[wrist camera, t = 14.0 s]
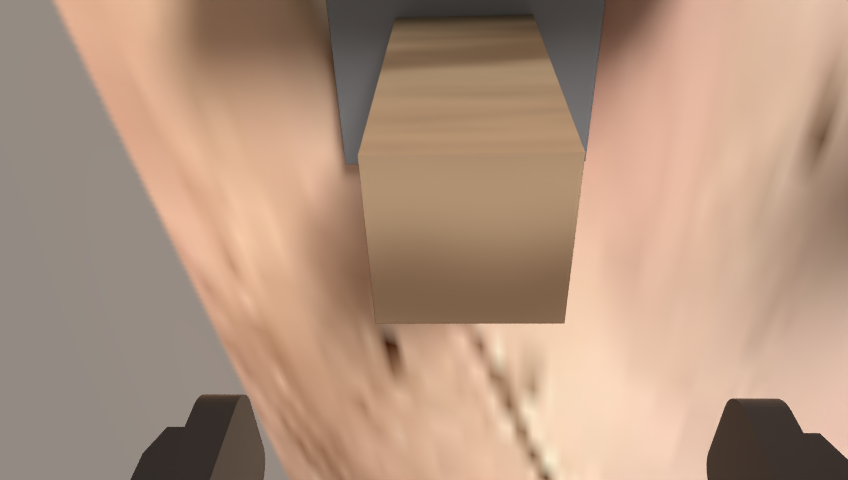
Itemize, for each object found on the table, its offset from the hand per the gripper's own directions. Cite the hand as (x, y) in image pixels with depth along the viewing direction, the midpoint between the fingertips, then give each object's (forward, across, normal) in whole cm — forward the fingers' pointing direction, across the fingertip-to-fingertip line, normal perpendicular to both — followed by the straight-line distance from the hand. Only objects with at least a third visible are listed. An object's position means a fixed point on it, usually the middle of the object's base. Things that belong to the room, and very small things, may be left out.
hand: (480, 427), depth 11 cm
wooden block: (+16, 0, 0) cm, 16 cm away
